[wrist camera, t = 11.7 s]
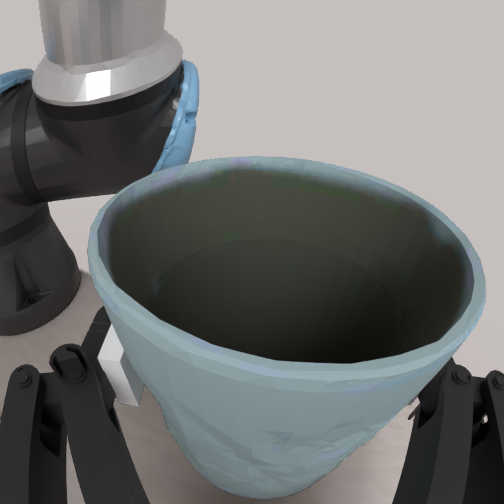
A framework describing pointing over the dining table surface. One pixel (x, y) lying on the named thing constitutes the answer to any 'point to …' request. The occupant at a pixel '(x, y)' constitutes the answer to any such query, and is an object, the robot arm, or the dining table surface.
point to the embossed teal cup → (281, 309)
